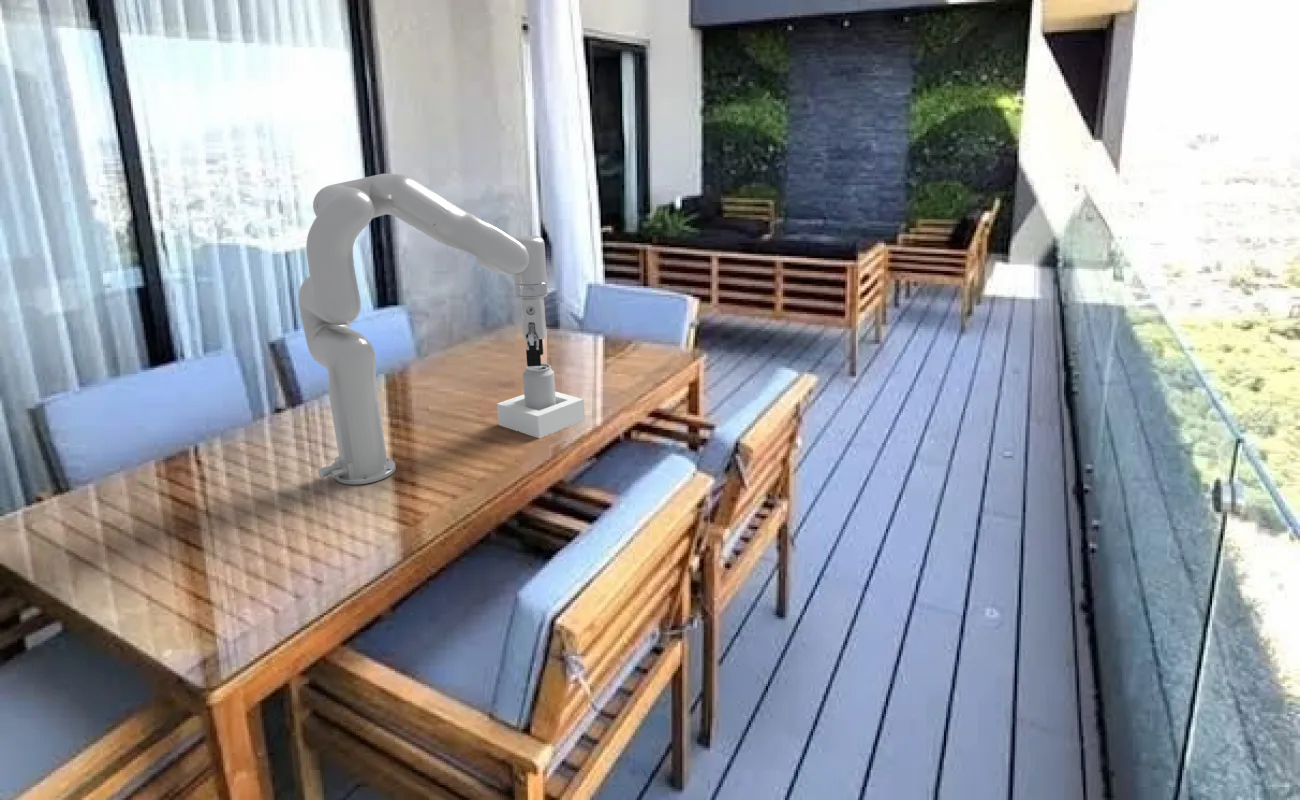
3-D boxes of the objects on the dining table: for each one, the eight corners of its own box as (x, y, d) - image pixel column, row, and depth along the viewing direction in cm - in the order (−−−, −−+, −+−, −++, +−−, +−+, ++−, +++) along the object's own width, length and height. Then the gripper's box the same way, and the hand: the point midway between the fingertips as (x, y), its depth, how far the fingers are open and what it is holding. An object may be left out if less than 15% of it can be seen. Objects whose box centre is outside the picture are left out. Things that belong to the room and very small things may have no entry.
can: (551, 418, 202) (548, 370, 199) (521, 417, 203) (518, 369, 200) (559, 408, 209) (556, 362, 206) (530, 407, 210) (527, 361, 207)
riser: (539, 440, 198) (537, 416, 196) (498, 426, 207) (496, 403, 205) (584, 422, 208) (583, 399, 206) (544, 409, 218) (542, 387, 216)
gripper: (545, 296, 188) (549, 369, 194) (548, 282, 205) (552, 350, 210) (511, 297, 188) (516, 371, 193) (518, 283, 204) (522, 351, 210)
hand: (535, 360), depth 202 cm, fingers open, 9 cm apart
